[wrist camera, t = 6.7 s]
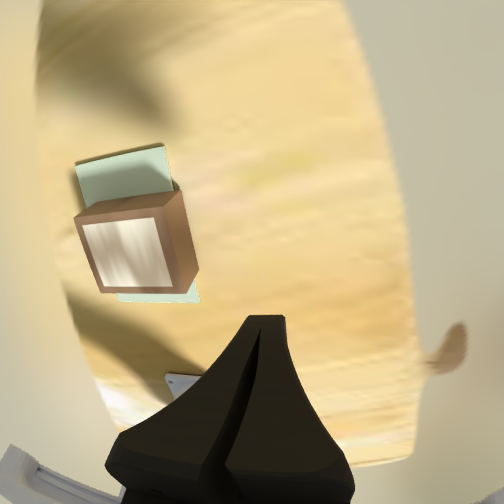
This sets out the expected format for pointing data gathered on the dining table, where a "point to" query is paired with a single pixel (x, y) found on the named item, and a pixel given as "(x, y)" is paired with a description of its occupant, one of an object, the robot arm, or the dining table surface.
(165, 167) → the sage mat
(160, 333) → the dining table surface
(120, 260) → the walnut frame
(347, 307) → the dining table surface
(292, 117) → the dining table surface
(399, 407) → the dining table surface
